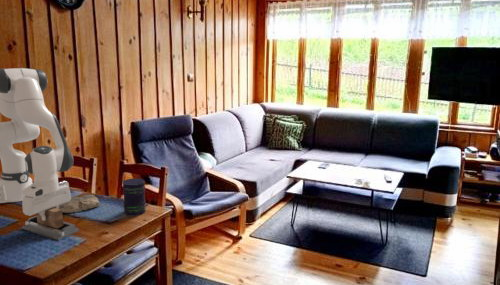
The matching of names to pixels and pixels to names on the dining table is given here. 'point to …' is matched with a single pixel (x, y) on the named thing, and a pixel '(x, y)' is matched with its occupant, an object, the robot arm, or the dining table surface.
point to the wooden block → (52, 218)
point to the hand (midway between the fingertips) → (49, 218)
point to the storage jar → (134, 196)
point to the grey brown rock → (79, 204)
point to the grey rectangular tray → (49, 229)
